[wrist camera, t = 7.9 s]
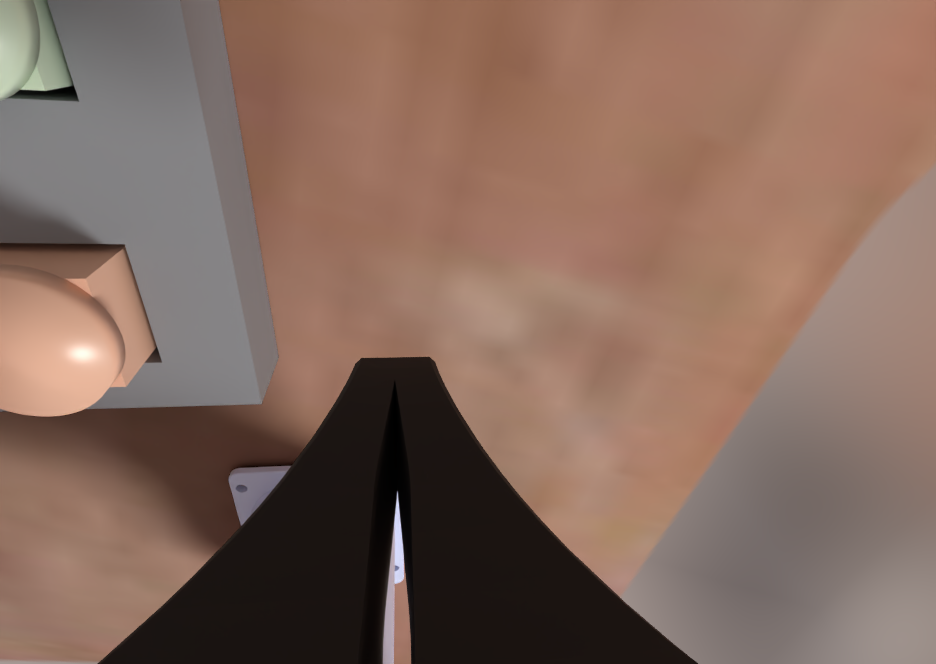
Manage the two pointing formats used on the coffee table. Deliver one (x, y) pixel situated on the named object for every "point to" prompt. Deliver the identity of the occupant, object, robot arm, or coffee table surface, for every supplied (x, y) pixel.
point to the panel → (150, 190)
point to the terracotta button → (68, 326)
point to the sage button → (30, 49)
